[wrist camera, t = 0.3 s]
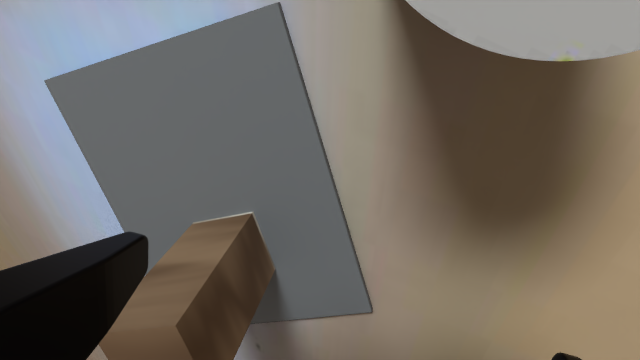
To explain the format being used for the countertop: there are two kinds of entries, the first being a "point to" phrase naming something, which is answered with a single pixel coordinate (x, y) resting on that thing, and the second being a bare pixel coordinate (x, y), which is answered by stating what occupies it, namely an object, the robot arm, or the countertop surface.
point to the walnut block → (196, 295)
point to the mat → (220, 154)
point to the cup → (540, 26)
